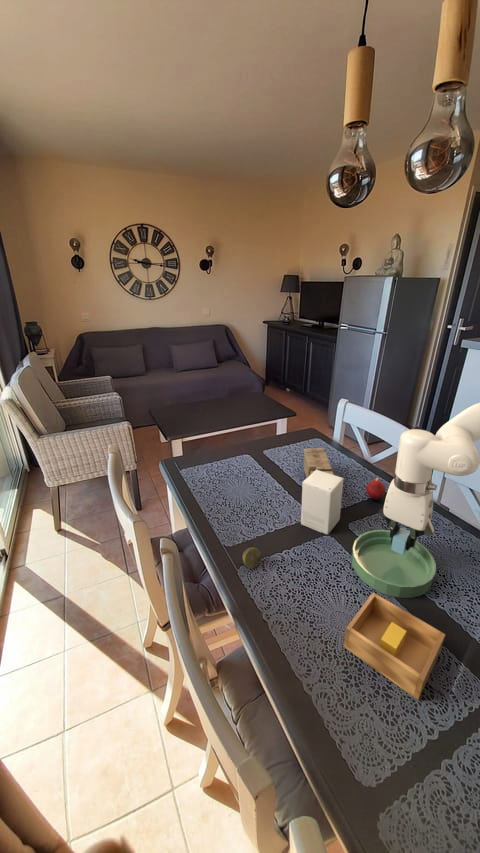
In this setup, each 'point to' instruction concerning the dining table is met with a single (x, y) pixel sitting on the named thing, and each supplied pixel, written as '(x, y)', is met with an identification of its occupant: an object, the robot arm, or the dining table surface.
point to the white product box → (321, 501)
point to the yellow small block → (393, 639)
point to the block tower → (316, 461)
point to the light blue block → (400, 541)
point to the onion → (375, 489)
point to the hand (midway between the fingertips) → (401, 543)
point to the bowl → (392, 565)
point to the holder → (414, 655)
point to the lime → (251, 557)
